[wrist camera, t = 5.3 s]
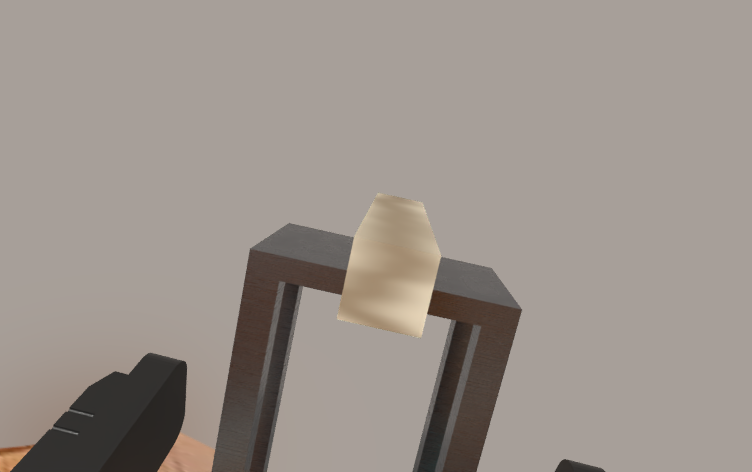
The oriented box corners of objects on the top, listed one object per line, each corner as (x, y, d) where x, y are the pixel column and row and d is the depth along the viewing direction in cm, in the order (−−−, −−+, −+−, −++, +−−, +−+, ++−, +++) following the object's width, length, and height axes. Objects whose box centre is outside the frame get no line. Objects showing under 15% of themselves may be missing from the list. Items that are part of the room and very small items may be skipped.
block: (412, 245, 40) (422, 202, 40) (420, 338, 21) (441, 255, 20) (368, 236, 41) (378, 192, 40) (336, 319, 21) (354, 236, 20)
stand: (400, 611, 44) (491, 268, 38) (399, 744, 34) (522, 309, 29) (224, 570, 44) (289, 223, 39) (173, 690, 35) (250, 248, 29)
